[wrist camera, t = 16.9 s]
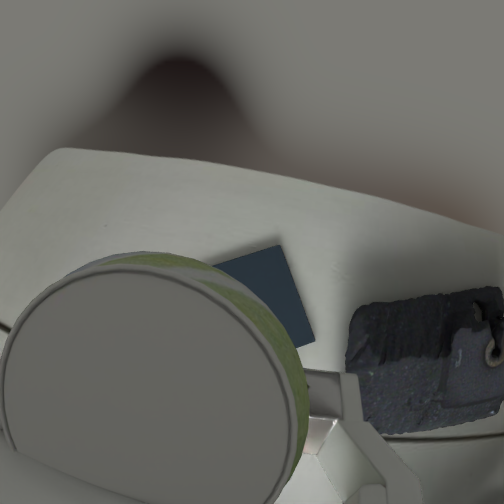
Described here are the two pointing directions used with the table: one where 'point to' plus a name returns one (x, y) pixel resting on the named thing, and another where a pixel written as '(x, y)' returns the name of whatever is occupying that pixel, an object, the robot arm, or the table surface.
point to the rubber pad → (273, 289)
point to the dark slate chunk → (428, 360)
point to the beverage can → (156, 383)
